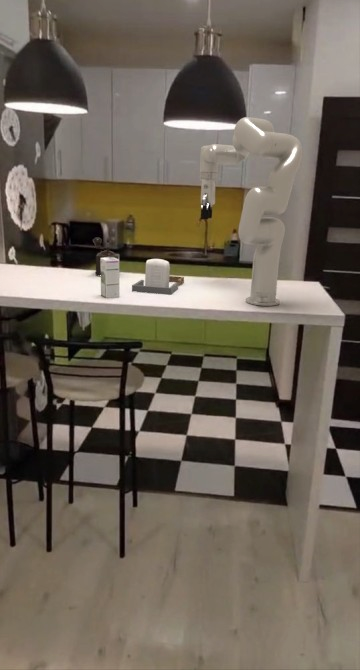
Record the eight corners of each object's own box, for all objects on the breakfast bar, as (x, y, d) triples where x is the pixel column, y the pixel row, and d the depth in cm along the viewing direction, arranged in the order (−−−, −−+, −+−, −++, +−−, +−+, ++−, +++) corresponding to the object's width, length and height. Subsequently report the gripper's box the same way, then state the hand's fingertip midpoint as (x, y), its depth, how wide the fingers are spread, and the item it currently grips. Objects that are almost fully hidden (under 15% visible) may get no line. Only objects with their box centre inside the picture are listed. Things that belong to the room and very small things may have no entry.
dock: (179, 286, 219) (179, 280, 218) (146, 283, 221) (146, 277, 221) (183, 282, 227) (184, 276, 226) (151, 280, 230) (151, 274, 229)
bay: (170, 294, 201) (171, 288, 200) (132, 291, 204) (132, 285, 203) (178, 288, 213) (178, 282, 213) (141, 285, 216) (141, 279, 216)
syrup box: (120, 297, 192) (120, 259, 188) (105, 298, 190) (105, 259, 185) (114, 294, 197) (114, 256, 193) (100, 295, 194) (99, 257, 190)
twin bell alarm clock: (96, 272, 244) (96, 234, 239) (119, 273, 245) (120, 235, 240) (92, 278, 229) (92, 237, 224) (117, 278, 230) (117, 238, 225)
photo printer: (170, 288, 212) (171, 259, 209) (167, 290, 208) (168, 260, 205) (146, 286, 215) (147, 257, 211) (143, 288, 211) (144, 258, 207)
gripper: (214, 176, 205) (211, 220, 210) (220, 177, 221) (217, 218, 226) (196, 176, 206) (194, 219, 211) (203, 177, 222) (201, 217, 227)
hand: (206, 218), depth 218 cm, fingers open, 9 cm apart
